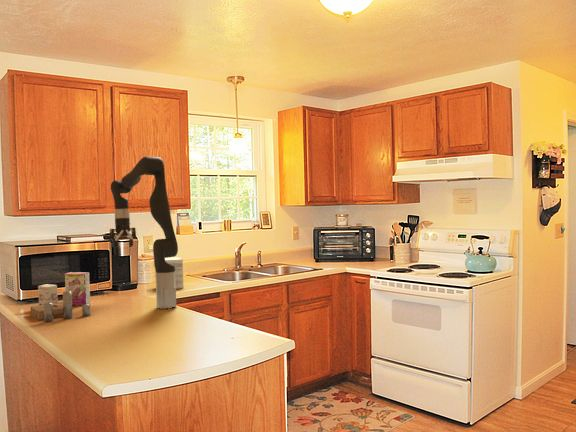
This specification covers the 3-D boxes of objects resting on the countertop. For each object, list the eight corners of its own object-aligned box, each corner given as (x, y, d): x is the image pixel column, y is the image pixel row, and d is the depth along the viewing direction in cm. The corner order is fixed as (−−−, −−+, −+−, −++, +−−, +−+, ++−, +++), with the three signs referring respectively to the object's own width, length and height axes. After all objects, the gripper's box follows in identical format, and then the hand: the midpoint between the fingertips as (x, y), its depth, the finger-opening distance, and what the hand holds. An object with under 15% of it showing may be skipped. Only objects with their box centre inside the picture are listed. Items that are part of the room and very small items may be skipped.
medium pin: (54, 321, 222) (53, 303, 222) (45, 322, 220) (44, 304, 220) (52, 320, 225) (51, 302, 225) (43, 321, 223) (42, 303, 223)
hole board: (72, 315, 233) (71, 306, 233) (38, 320, 225) (38, 311, 224) (62, 310, 246) (62, 302, 246) (30, 315, 237) (30, 306, 237)
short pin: (91, 315, 232) (91, 304, 232) (83, 316, 230) (83, 305, 230) (89, 314, 235) (89, 303, 235) (81, 315, 233) (80, 304, 233)
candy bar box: (65, 305, 258) (63, 273, 258) (70, 303, 263) (69, 272, 262) (86, 305, 257) (84, 273, 256) (90, 303, 262) (89, 271, 261)
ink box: (38, 309, 251) (37, 285, 251) (47, 307, 255) (46, 283, 255) (49, 310, 247) (48, 286, 247) (58, 308, 251) (57, 284, 251)
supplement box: (157, 287, 311) (156, 258, 310) (179, 285, 316) (178, 257, 316) (161, 290, 299) (160, 260, 298) (184, 288, 304) (183, 258, 304)
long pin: (73, 318, 227) (72, 291, 227) (64, 319, 225) (63, 292, 225) (71, 317, 230) (70, 290, 230) (62, 318, 228) (61, 291, 227)
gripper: (113, 217, 267) (114, 248, 267) (137, 216, 277) (139, 246, 277) (106, 218, 272) (107, 248, 272) (130, 217, 282) (132, 246, 282)
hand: (123, 247), depth 275 cm, fingers open, 8 cm apart
